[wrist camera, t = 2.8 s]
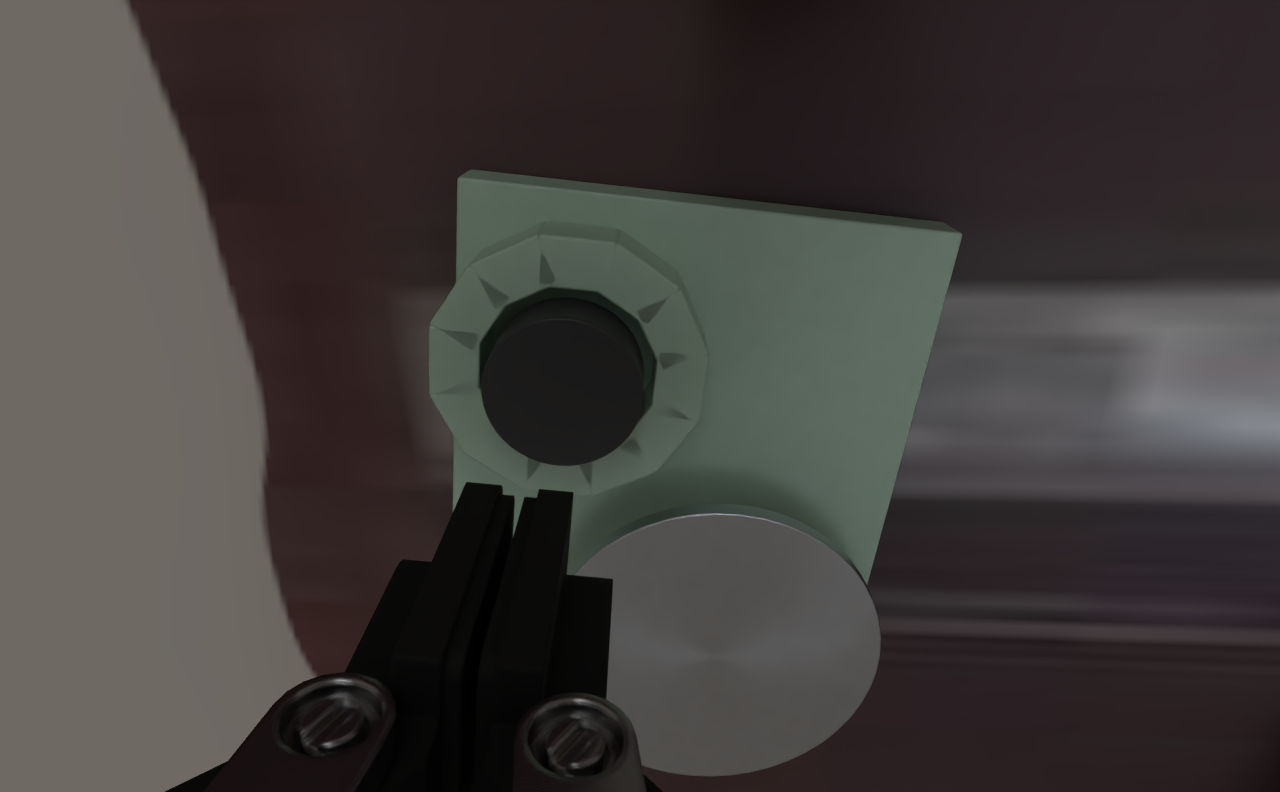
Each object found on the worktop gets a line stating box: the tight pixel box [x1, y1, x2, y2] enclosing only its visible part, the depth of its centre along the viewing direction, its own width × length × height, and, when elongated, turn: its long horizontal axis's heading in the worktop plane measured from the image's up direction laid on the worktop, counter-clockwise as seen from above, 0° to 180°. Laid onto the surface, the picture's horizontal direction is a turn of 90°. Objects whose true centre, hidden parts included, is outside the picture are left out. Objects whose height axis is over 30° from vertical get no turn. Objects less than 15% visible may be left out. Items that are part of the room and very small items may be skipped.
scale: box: [429, 169, 962, 585], centre depth 22 cm, size 16×12×3 cm
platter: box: [568, 503, 881, 777], centre depth 21 cm, size 9×9×1 cm
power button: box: [481, 298, 644, 466], centre depth 18 cm, size 4×4×2 cm
